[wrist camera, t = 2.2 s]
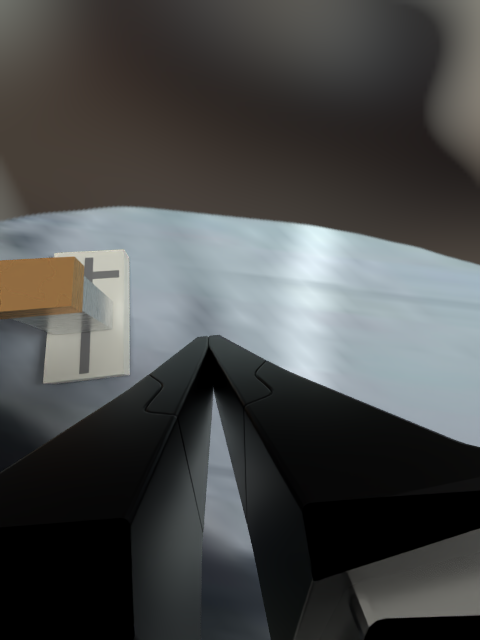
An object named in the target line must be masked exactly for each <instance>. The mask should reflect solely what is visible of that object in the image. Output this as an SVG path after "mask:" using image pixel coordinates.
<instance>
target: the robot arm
mask: <svg viewBox="0 0 480 640" xmlns="http://www.w3.org/2000/svg"><path fill="white" fill-rule="evenodd" d="M213 389H214V394H215V398H216V402H217V406H218V410H219V414H220V418H221V422H222V426H223V430H224V434H225V438H226V442H227V446H228V450H229V454H230V458H231V462H232V466H233V470H234V474H235V478H236V482H237V486H238V490H239V494H240V498H241V502H242V506H243V510H244V514H245V518H246V522H247V526H248V530H249V534H250V539H251V543H252V548H253V552H254V557H255V562H256V567H257V572H258V577H259V582H260V587H261V592H262V597H263V602H264V607H265V612H266V617H267V622H268V627H269V632H270V637H271V640H480V447H477V446H473V445H468V444H465V443H462V442H459V441H456V440H454V439H451V438H449V437H446V436H444V435H442V434H439V433H437V432H434V431H432V430H429V429H427V428H425V427H422V426H420V425H417V424H415V423H412V422H410V421H408V420H405V419H403V418H400V417H398V416H395V415H393V414H391V413H388V412H386V411H383V410H381V409H378V408H376V407H374V406H371V405H369V404H366V403H364V402H361V401H359V400H357V399H354V398H352V397H349V396H347V395H344V394H342V393H340V392H337V391H335V390H332V389H330V388H327V387H325V386H323V385H320V384H318V383H315V382H313V381H311V380H308V379H306V378H303V377H301V376H298V375H296V374H294V373H292V372H289V371H287V370H285V369H283V368H281V367H279V366H277V365H275V364H273V363H271V362H269V361H266V360H265V359H263V358H261V357H259V356H257V355H255V354H254V353H252V352H250V351H248V350H246V349H244V348H243V347H241V346H239V345H237V344H235V343H233V342H231V341H230V340H228V339H226V338H224V337H222V336H220V335H213V336H209V338H208V336H203V337H197V338H196V339H194V340H193V341H192V342H191V343H189V344H188V345H187V346H185V347H184V348H183V349H182V350H180V351H179V352H178V353H176V354H175V355H174V356H173V357H171V358H170V359H169V360H167V361H166V362H165V363H163V364H162V365H161V366H160V367H158V368H157V369H156V370H154V371H153V372H152V373H150V374H149V375H147V376H146V377H145V378H143V379H142V380H141V381H139V382H138V383H137V384H135V385H134V386H133V387H131V388H130V389H128V390H127V391H126V392H124V393H123V394H121V395H120V396H118V397H117V398H115V399H114V400H112V401H110V402H109V403H107V404H106V405H104V406H103V407H101V408H100V409H98V410H97V411H95V412H93V413H92V414H90V415H89V416H87V417H86V418H84V419H83V420H81V421H79V422H78V423H76V424H75V425H73V426H72V427H70V428H69V429H67V430H65V431H64V432H62V433H61V434H59V435H58V436H56V437H55V438H53V439H51V440H50V441H48V442H47V443H45V444H44V445H42V446H41V447H39V448H37V449H36V450H34V451H33V452H31V453H30V454H28V455H27V456H25V457H24V458H22V459H20V460H19V461H17V462H16V463H14V464H13V465H11V466H10V467H8V468H6V469H5V470H3V471H2V472H0V640H201V571H202V544H203V529H204V516H205V502H206V488H207V474H208V460H209V446H210V432H211V419H212V405H213Z"/></svg>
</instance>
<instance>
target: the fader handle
mask: <svg viewBox="0 0 480 640" xmlns="http://www.w3.org/2000/svg"><path fill="white" fill-rule="evenodd" d="M0 319H13V320H16V321H19V322H22V323H24V324H27V325H30V326H33V327H35V328H38V329H41V330H44V331H46V332H49V333H52V334H55V335H58V334H68V333H79V332H90V331H101V330H111V329H112V328H113V301H112V300H111V299H110V298H109V297H107V296H106V295H105V294H104V293H103V292H102V291H101V290H100V289H98V288H97V287H96V286H95V285H94V284H93V283H92V282H91V281H90V280H88V279H87V278H86V277H85V276H84V265H83V264H82V263H81V262H80V261H79V260H78V259H77V258H76V257H74V256H73V257H56V258H38V259H20V260H2V261H0Z"/></svg>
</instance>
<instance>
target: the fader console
mask: <svg viewBox="0 0 480 640" xmlns="http://www.w3.org/2000/svg"><path fill="white" fill-rule="evenodd" d="M73 256H74V257H76V258H77V259H78V260H79V261H80V262H81V263H82V264H83V265H84V276H85V277H86V278H87V279H88V280H90V281H91V282H92V283H93V284H94V285H95V286H96V287H97V288H98V289H100V290H101V291H102V292H103V293H104V294H105V295H106V296H107V297H109V298H110V299H111V300H112V301H113V328H112V329H111V330H101V331H90V332H79V333H68V334H58V335H55V334H52V333H49V332H47V342H46V353H45V364H44V376H43V384H60V383H68V382H77V381H85V380H94V379H102V378H111V377H119V376H128V375H130V305H129V257H128V255H127V253H126V252H125V250H124V249H122V250H104V251H85V252H66V253H54V258H56V257H73Z"/></svg>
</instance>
